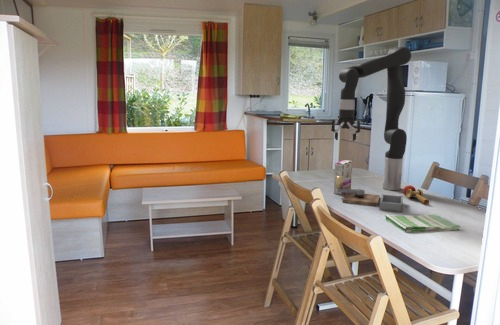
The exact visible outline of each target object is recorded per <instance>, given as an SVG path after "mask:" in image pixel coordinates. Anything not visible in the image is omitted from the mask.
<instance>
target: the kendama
mask: <svg viewBox="0 0 500 325" xmlns="http://www.w3.org/2000/svg"><path fill="white" fill-rule="evenodd" d="M402 193H403V195H404V196H405V197H406V198H408V199H409V198H414V197H415V198H416V200H418V201H420V202H421V203H422V204H423V205H424V206H426V205H429V203H430V200H429V199H428V198H426V197H424V191H423V190H422V189H417V190H416V187H414V186H413V185H406V186H405V187H404V188H403V191H402Z"/></svg>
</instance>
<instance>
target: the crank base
mask: <svg viewBox="0 0 500 325" xmlns="http://www.w3.org/2000/svg"><path fill="white" fill-rule="evenodd" d="M380 198H381V195H380V194H373V193H372V194H371V193H364V197H362V198H360V197H355V193H345V194H344V196H343V197H342V203H345V204H353V205H354V204H355V205H361V206H362V205H363V206H370V207H372V206H373V207H378V205H379V203H380V201H379V200H380Z"/></svg>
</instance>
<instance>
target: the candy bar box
mask: <svg viewBox="0 0 500 325" xmlns="http://www.w3.org/2000/svg"><path fill="white" fill-rule="evenodd" d="M352 167H353V160H345V159H343V160H340V161H337V162H335V163H334V188H333V194H335V195H341V196H342V195H346V192H338V189H336V182H337V176H343V186H342V188H345V189H352V170H353V168H352Z"/></svg>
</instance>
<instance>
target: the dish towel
mask: <svg viewBox="0 0 500 325" xmlns="http://www.w3.org/2000/svg"><path fill="white" fill-rule="evenodd" d="M384 217H385V220H386V221H387V222H389V223H391V224H392V225H394V226H395V227H397V228H398V229H400V230H401V231H403V232H404V233H419V232H420V233H421V232H422V233H423V232H444V231H445V232H446V231H447V232H449V231H457V230H460V228H461V225H459V224H456V223H453V222H451V221H450V220H448V219H445V218H444V217H442V216H440V215H438V214H425V215H424V214H423V215H421V214H420V215H394V214H384Z"/></svg>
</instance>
